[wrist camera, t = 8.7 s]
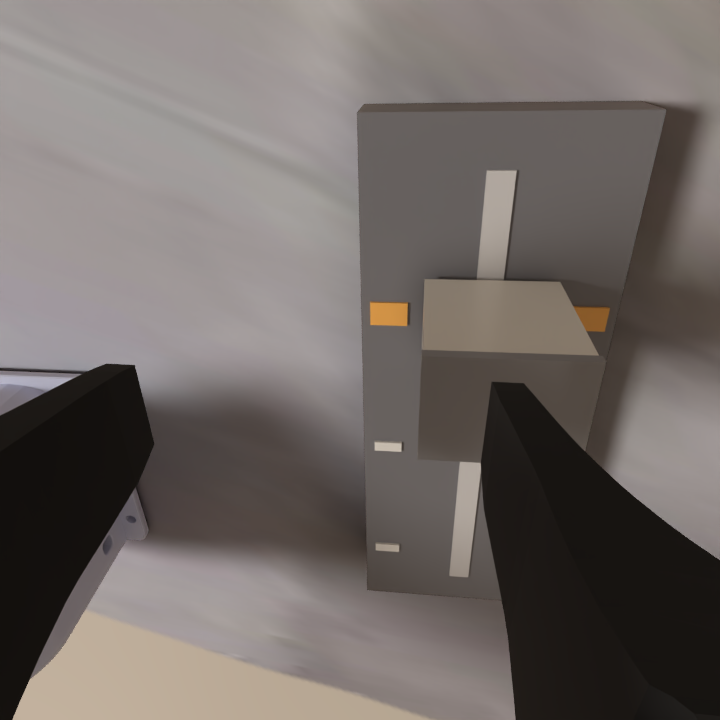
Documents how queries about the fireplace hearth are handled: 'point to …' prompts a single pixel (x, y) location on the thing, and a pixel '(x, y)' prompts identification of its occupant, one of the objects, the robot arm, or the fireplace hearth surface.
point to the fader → (500, 360)
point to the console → (477, 262)
